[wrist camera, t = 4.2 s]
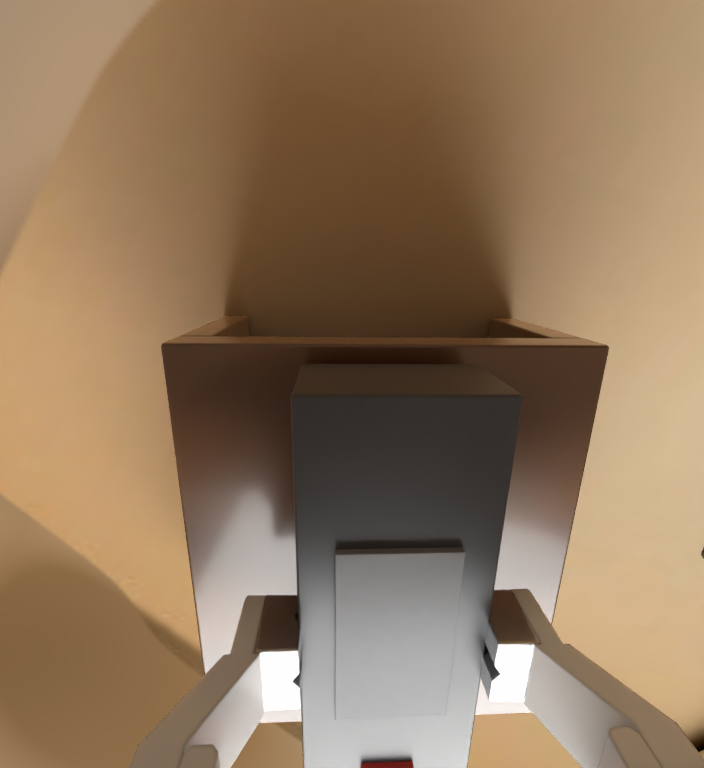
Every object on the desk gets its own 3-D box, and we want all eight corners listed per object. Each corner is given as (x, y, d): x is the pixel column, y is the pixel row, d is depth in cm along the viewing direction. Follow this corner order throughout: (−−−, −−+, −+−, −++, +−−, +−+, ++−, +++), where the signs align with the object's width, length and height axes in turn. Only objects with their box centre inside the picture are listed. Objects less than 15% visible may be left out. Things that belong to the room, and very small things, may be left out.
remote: (301, 363, 10) (289, 397, 7) (478, 363, 10) (528, 397, 7) (309, 727, 13) (304, 834, 11) (438, 722, 14) (461, 825, 11)
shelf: (223, 316, 16) (159, 343, 10) (513, 318, 16) (611, 345, 10) (246, 592, 20) (209, 726, 14) (478, 587, 20) (534, 713, 14)
